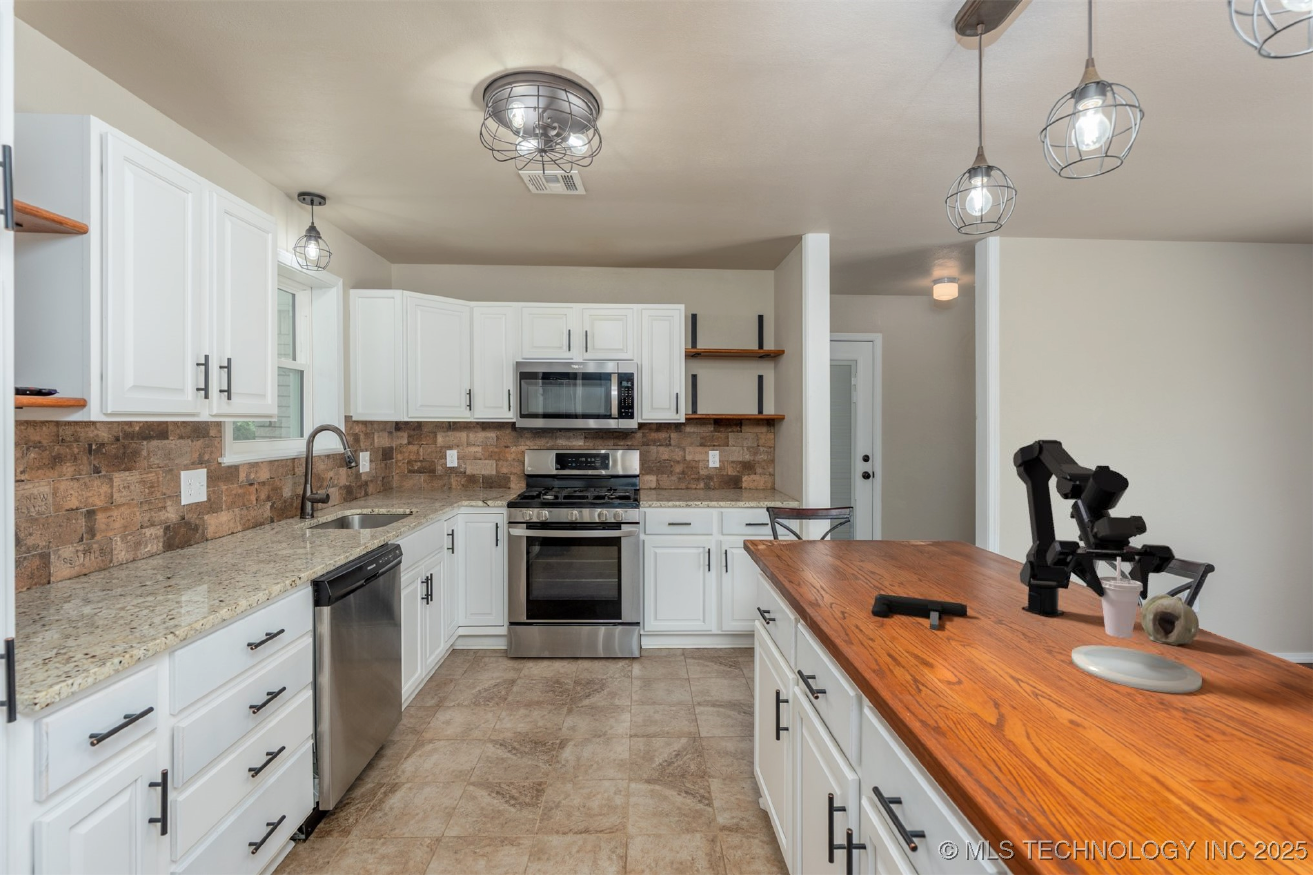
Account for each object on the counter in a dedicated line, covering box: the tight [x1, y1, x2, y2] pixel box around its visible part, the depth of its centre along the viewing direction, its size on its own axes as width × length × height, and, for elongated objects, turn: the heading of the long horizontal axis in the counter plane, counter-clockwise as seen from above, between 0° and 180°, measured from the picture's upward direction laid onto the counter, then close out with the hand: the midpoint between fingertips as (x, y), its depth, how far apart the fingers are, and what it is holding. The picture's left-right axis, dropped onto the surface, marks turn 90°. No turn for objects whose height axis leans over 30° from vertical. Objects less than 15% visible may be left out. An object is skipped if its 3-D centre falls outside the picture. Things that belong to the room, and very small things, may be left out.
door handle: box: [870, 593, 968, 631], centre depth 135 cm, size 3×20×16 cm
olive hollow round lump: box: [1140, 593, 1200, 646], centre depth 121 cm, size 9×8×10 cm
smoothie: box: [1099, 557, 1143, 639], centre depth 106 cm, size 6×6×14 cm
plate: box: [1071, 644, 1203, 694], centre depth 106 cm, size 18×18×1 cm
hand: (1123, 597), depth 105 cm, fingers closed on smoothie, 6 cm apart
